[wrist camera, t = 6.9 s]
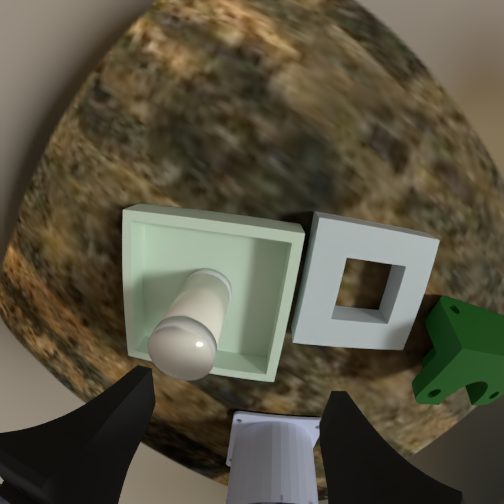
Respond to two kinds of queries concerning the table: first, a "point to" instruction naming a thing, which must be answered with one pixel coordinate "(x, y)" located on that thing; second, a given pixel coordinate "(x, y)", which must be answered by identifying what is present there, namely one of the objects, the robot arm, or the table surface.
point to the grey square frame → (330, 274)
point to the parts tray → (218, 258)
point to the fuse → (192, 326)
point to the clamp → (462, 354)
